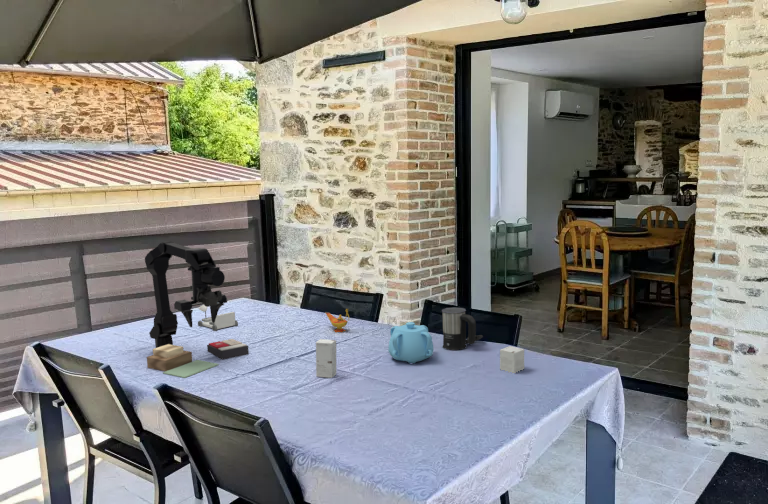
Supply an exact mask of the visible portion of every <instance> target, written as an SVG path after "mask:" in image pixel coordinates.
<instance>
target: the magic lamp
mask: <svg viewBox="0 0 768 504" xmlns="http://www.w3.org/2000/svg"><path fill="white" fill-rule="evenodd" d="M345 312H346V314H345V318H344V317H343V315H342V314H339V316H338V317H335V316H334V315H332V314H331V313H330V312H328V311H325V312H324V313H325V315H326V316H327V318H328V320H329V322H330V323H331V324H330V325H332V326H333V327H335V328H336V329H334V330H333V332H334V331H335V332H334V333H337V332H341V333H344V332H343V331H345V332H346V330H345V329H344V328H347V324H348V322H349V321H350V315H349V308H345ZM347 317H348V319H347ZM346 319H347V320H346Z"/></svg>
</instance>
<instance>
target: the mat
mask: <svg viewBox="0 0 768 504" xmlns="http://www.w3.org/2000/svg"><path fill="white" fill-rule="evenodd" d="M219 365H220V363H215V362H211V361H205V360H201V359H196V360H192V362H190V363H187V364H185V365H182V366H179V367H176V368H174V369H171V370H168V371H162V374H163V375H167V376H173V377H178V378H182V379H186V378H189V377H191V376H193V375H194V376H195V375H196V374H199V373H203V372H204V371H207V370H210V369H212V368H214V367H218V366H219Z"/></svg>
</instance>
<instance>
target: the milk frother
mask: <svg viewBox="0 0 768 504" xmlns="http://www.w3.org/2000/svg"><path fill="white" fill-rule="evenodd" d="M466 311H467V310H466V308H464V307H446V308H445V307H444V308H442V309H441V312H442V333H443V335H442V336H443V338H442V339H443V341H442V348H443V349H445V350H448V349H449V350H450V351H460V350H464V349H466V348H467V345H473V344H475V342H477V341H480V340H482V339H483V338H484V336H483V335H482V334H479V335H476V334H477V333H476V332H477V322H476V319H475V318H474V317H473V316H472V315H470V314H466ZM466 322H467V323H466ZM466 324H467V325H468V330H467V329H466V327H467V326H466ZM467 331H468V334H467ZM459 349H460V350H459Z"/></svg>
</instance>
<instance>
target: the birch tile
mask: <svg viewBox="0 0 768 504" xmlns="http://www.w3.org/2000/svg"><path fill="white" fill-rule="evenodd" d="M183 350H184V346H183V345H175V344H173V345H170V344H167V345H164V346H161V347H158V348H156V347H155V348H153V349H152V355H154V356H159V357H164V358H171V357H174V356H177V355H179V354H182V353H184V352H183Z"/></svg>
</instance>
